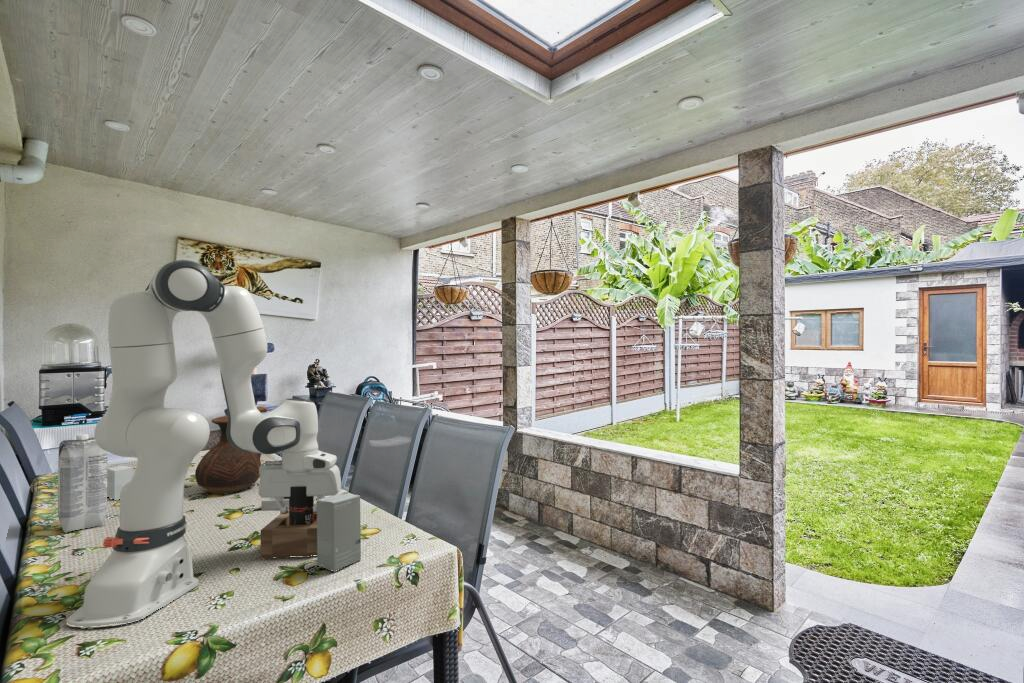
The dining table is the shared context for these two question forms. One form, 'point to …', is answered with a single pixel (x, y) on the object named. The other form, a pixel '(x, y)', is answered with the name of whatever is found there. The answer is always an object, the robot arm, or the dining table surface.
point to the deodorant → (300, 507)
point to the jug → (227, 465)
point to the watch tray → (274, 503)
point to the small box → (118, 480)
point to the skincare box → (338, 531)
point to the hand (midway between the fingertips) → (300, 512)
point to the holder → (288, 538)
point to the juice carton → (81, 483)
